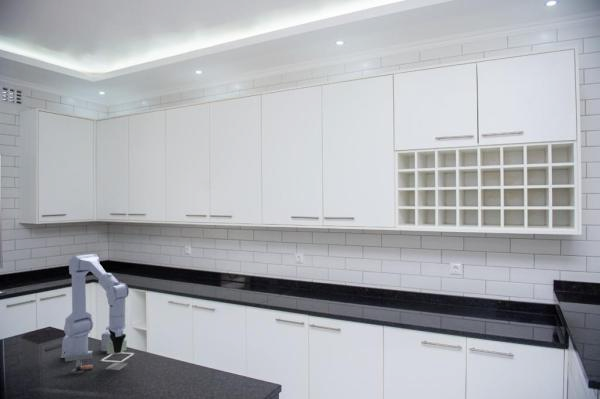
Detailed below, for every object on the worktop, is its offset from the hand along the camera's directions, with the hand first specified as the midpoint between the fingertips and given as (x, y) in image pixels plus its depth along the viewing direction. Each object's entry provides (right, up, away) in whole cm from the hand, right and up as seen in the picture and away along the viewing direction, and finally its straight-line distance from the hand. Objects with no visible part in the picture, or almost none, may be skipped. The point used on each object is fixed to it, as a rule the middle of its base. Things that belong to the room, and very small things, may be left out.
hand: (116, 349), depth 154 cm
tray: (-4, -8, +9) cm, 12 cm away
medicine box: (-10, -8, +18) cm, 22 cm away
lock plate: (-7, -8, -2) cm, 11 cm away
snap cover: (0, -1, 0) cm, 1 cm away
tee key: (-13, -6, -4) cm, 15 cm away
